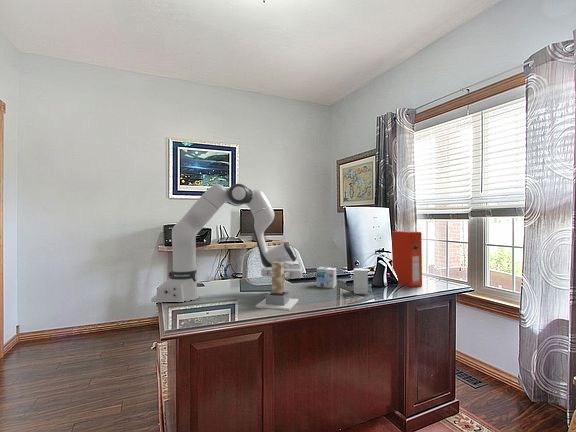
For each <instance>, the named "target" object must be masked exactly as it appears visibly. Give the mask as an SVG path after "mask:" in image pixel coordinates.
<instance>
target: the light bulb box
mask: <svg viewBox="0 0 576 432" xmlns="http://www.w3.org/2000/svg"><path fill="white" fill-rule="evenodd" d="M315 285H316V286H315V287H319V288H328V289H335V286H337V268H336V267H323V266H319V267H317V268H316V284H315Z"/></svg>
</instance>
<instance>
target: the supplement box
mask: <svg viewBox="0 0 576 432" xmlns="http://www.w3.org/2000/svg"><path fill="white" fill-rule="evenodd" d="M368 275H369V271H368V268H363V267H361V268H357V267H356V268H355V267H354V268H353V294H355V295H357V294H358V295H369V276H368Z"/></svg>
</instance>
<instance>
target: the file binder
mask: <svg viewBox="0 0 576 432" xmlns="http://www.w3.org/2000/svg"><path fill="white" fill-rule="evenodd" d="M391 252H392V253H391V255H392V256H391V257H392V259H391V262H392V266H393V267H392V270H393V269H394V271H395V273H396V275H397V278H398V283H397V284H399V285H403V286H406V287H409V288H419V287H422V286H423V259H422V258H423V257H422V256H423V254H422V252H423V251H422V231H408V230H407V231H406V230H397V231H396V230H392V231H391Z"/></svg>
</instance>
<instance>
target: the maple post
mask: <svg viewBox="0 0 576 432" xmlns="http://www.w3.org/2000/svg"><path fill="white" fill-rule="evenodd" d="M282 273H284V262H273V263H272V277H271V291H272V293H282V292H285V280H284V277H282Z"/></svg>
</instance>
